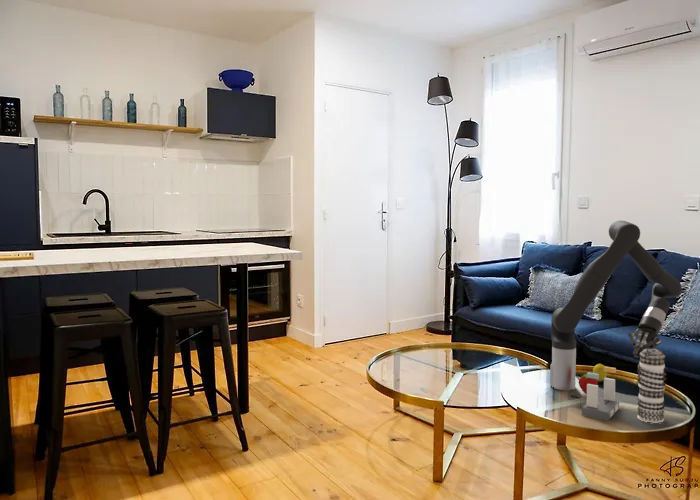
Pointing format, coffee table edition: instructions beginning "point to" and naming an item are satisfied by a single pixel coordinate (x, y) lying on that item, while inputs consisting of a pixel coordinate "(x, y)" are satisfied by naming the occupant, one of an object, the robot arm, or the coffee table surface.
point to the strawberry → (586, 382)
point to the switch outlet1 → (592, 391)
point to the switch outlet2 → (609, 385)
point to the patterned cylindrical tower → (651, 386)
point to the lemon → (600, 372)
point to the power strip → (601, 409)
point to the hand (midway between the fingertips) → (635, 356)
